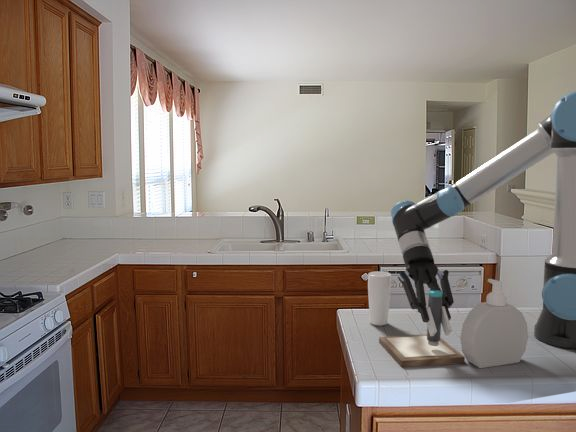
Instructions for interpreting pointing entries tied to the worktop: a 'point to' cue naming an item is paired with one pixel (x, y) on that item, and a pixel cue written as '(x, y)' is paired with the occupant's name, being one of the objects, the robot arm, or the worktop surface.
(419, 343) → the writing board
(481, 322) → the soap bottle
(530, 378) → the worktop surface
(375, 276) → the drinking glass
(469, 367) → the worktop surface
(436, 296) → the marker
